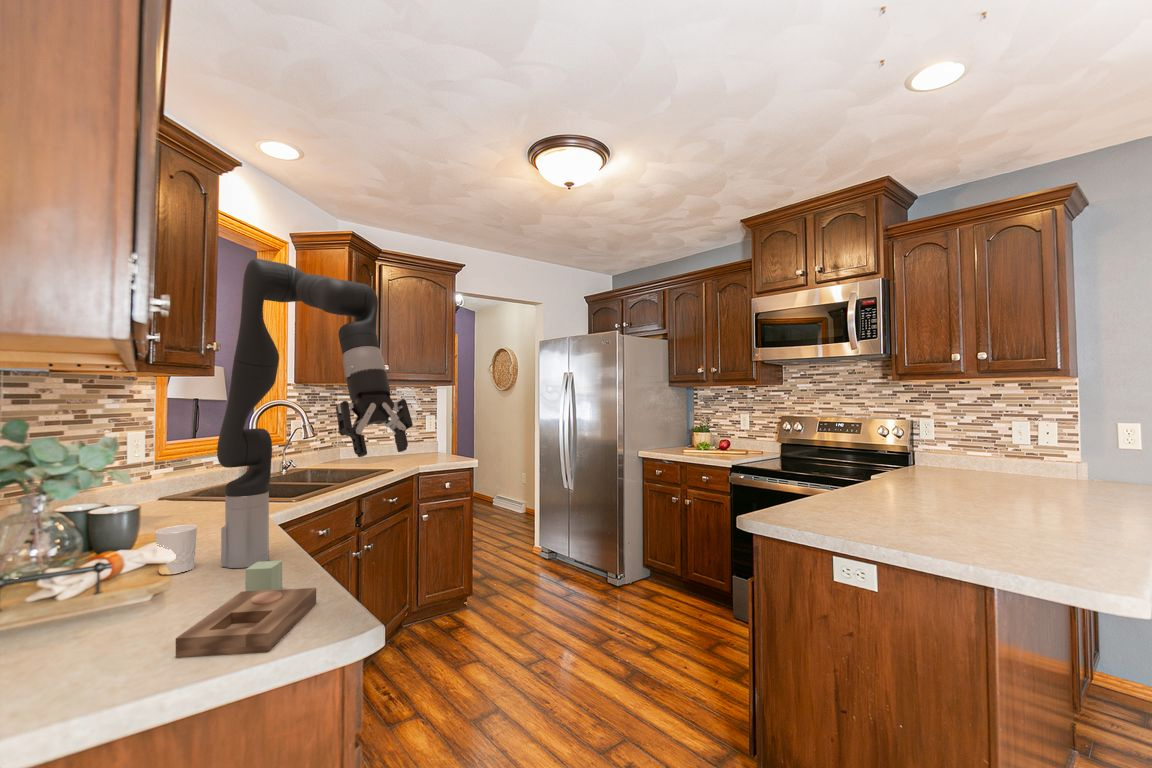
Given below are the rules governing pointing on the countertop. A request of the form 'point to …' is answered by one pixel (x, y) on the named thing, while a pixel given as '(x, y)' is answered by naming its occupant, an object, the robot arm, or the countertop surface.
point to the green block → (264, 576)
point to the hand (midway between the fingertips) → (383, 453)
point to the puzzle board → (247, 623)
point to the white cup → (179, 545)
